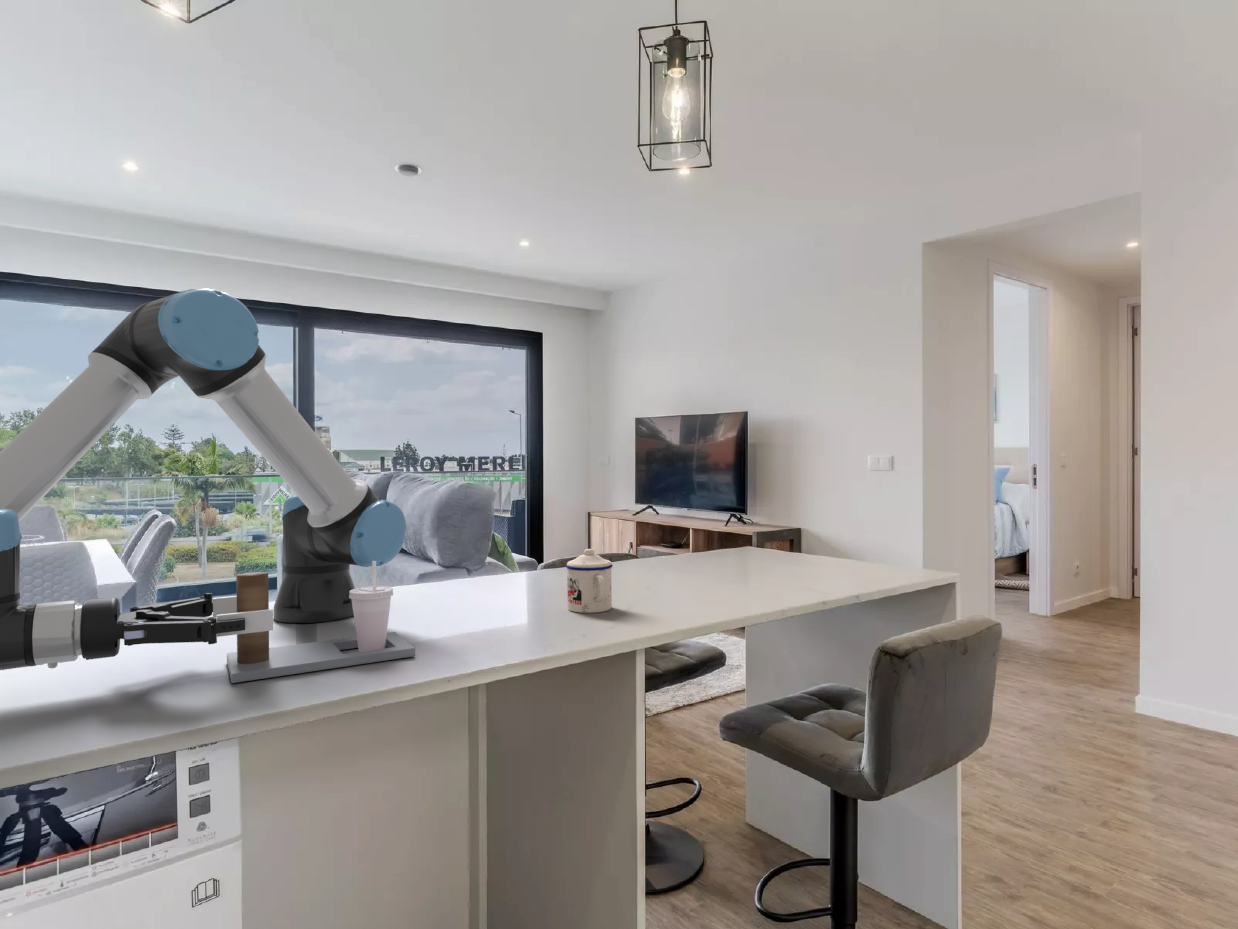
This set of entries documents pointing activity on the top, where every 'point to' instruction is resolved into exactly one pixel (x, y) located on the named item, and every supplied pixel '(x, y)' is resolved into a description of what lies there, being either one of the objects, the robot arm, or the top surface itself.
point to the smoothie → (371, 614)
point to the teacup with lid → (589, 583)
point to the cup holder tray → (299, 658)
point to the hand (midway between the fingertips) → (267, 610)
